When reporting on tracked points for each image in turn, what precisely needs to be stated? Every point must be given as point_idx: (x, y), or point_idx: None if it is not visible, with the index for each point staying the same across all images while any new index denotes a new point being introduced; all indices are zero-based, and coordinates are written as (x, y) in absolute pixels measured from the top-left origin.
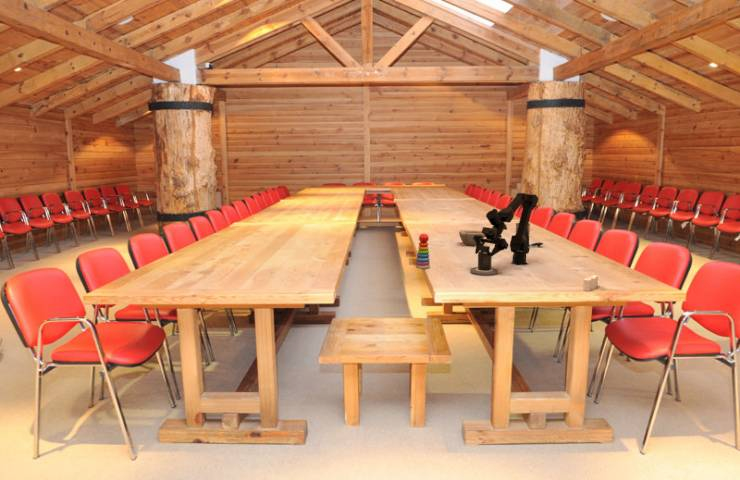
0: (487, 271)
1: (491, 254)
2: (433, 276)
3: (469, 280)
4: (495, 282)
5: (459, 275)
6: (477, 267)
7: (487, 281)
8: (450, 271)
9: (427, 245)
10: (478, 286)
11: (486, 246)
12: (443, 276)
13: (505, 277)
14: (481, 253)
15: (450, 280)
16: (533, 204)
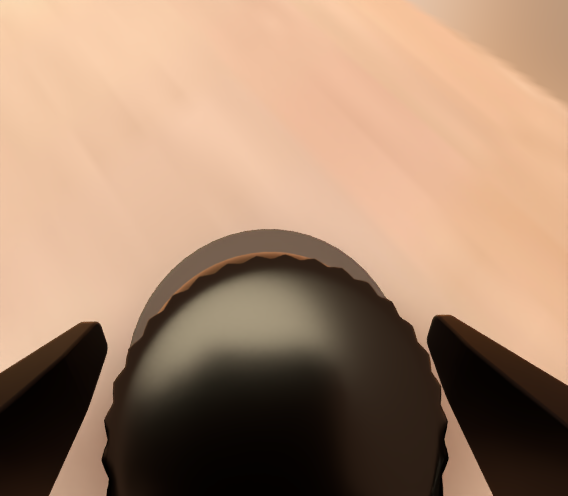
0: None
1: (64, 340)
2: (424, 22)
3: (193, 80)
4: (13, 148)
5: (339, 142)
6: None
7: (77, 135)
8: (478, 193)
9: None
10: (60, 7)
11: (221, 447)
12: (386, 57)
13: (15, 346)
14: (258, 253)
15: (281, 13)
16: None
